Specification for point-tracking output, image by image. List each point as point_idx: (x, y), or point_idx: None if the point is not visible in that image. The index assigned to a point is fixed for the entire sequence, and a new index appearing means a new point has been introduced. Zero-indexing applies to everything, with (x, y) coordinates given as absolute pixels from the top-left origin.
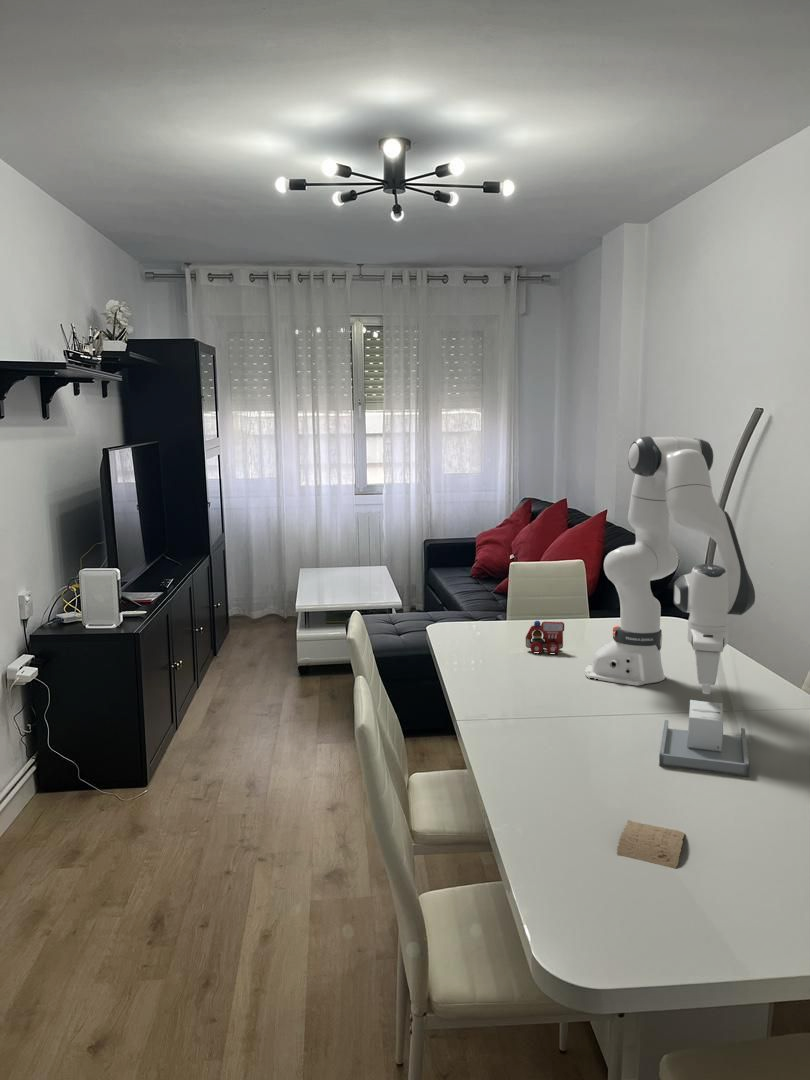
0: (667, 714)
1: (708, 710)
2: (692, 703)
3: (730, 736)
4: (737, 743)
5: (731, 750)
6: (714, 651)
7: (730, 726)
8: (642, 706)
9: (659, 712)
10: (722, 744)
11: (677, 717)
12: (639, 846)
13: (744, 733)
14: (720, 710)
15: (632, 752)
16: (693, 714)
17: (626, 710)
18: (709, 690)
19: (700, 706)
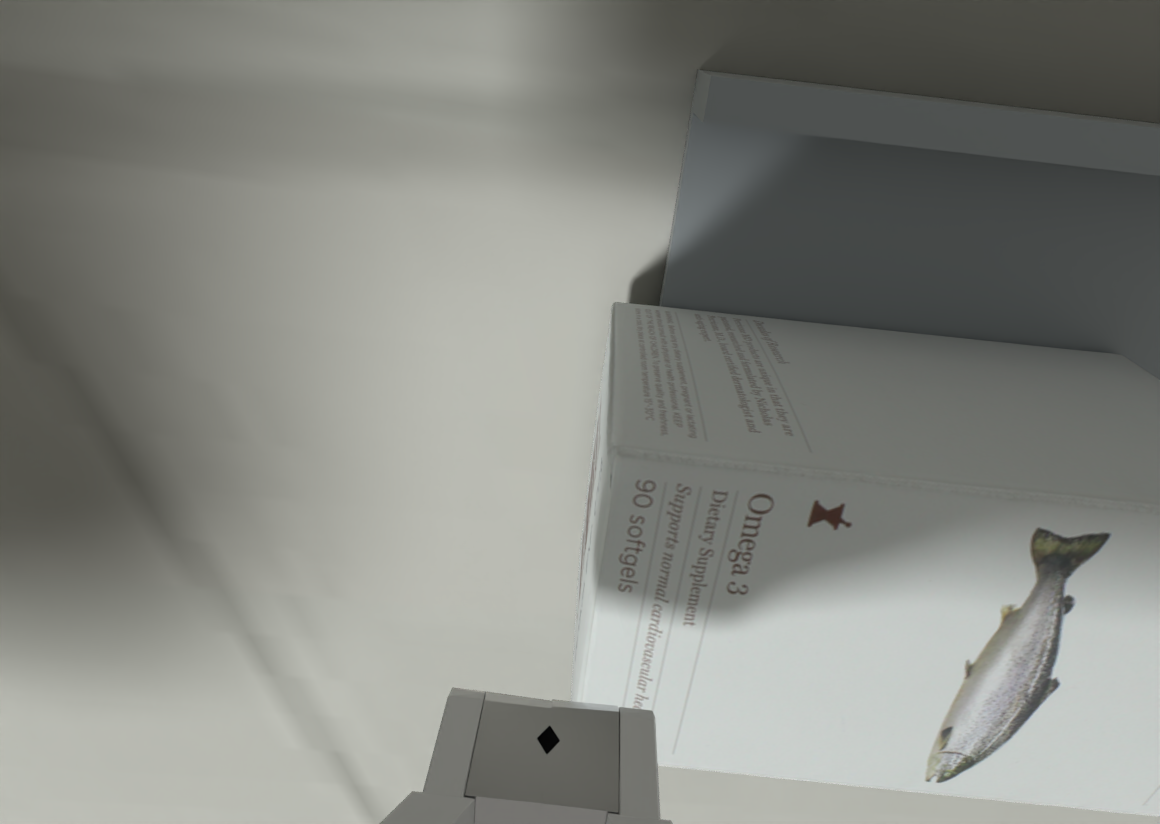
0: (262, 615)
1: (984, 650)
2: (718, 757)
3: (712, 222)
4: (902, 179)
5: (1084, 263)
6: None
7: (358, 167)
8: (170, 729)
9: (243, 654)
10: (928, 323)
11: (299, 562)
12: None
13: (884, 108)
14: (958, 514)
15: (1010, 818)
16: (1107, 786)
17: (294, 801)
18: (655, 762)
19: (825, 704)
